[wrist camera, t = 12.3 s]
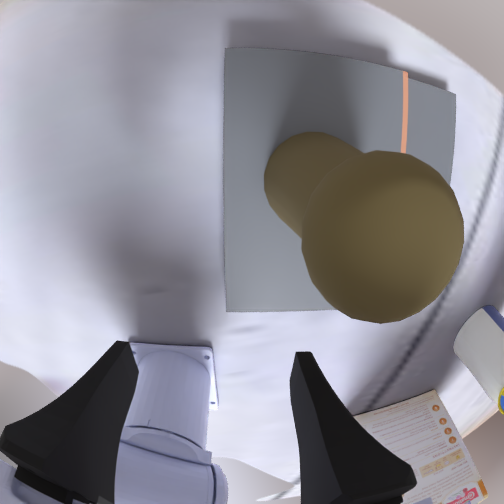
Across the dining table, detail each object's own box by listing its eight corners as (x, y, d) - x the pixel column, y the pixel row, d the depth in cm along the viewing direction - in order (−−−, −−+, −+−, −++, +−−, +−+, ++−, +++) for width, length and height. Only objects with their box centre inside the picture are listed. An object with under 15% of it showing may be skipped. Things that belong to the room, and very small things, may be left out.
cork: (244, 160, 16) (249, 214, 6) (336, 115, 15) (468, 108, 5) (291, 246, 18) (344, 382, 8) (374, 203, 17) (494, 291, 7)
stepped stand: (418, 286, 23) (432, 301, 21) (227, 292, 22) (226, 312, 20) (446, 94, 16) (467, 93, 14) (227, 58, 15) (225, 47, 13)
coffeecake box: (331, 442, 33) (357, 557, 15) (334, 418, 30) (368, 554, 13) (422, 414, 33) (465, 512, 15) (435, 387, 30) (491, 495, 12)
